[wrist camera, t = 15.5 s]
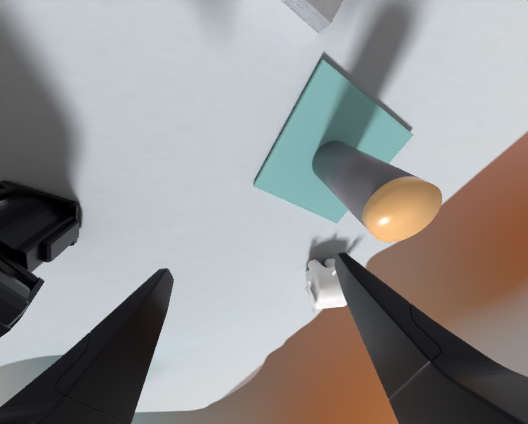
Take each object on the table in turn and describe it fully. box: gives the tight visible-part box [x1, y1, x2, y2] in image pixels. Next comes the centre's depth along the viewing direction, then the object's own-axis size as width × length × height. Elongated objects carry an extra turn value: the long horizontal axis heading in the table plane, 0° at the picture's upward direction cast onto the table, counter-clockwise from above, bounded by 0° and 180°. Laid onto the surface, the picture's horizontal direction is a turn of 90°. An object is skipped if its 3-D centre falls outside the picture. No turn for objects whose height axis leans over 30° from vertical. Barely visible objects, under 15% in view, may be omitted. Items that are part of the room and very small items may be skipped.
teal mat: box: [254, 60, 413, 223], centre depth 21 cm, size 13×13×1 cm
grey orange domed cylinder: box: [312, 141, 442, 242], centre depth 16 cm, size 4×4×11 cm
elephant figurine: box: [305, 258, 347, 312], centre depth 29 cm, size 8×10×7 cm
